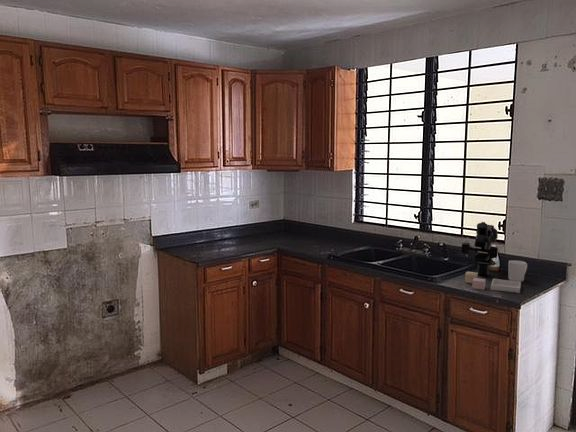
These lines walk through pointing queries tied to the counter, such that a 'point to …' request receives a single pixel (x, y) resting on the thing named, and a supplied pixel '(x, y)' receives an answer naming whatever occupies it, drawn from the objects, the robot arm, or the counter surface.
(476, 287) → the rose box
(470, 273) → the oak block
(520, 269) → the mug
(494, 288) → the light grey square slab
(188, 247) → the counter surface
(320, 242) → the counter surface
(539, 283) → the counter surface
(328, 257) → the counter surface
